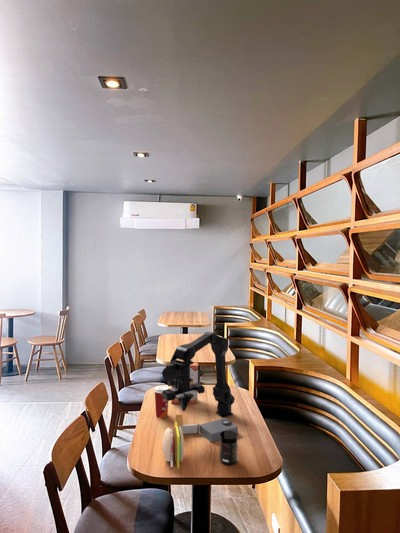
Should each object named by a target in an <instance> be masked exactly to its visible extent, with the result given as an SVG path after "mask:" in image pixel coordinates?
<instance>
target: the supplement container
mask: <svg viewBox="0 0 400 533" xmlns="http://www.w3.org/2000/svg"><path fill="white" fill-rule="evenodd" d="M238 435H239V434H237V433H236V432H234V431H228V430H227V431H223V432H221V433H220V440H219V461H220V462H221V464H223V465H226V466H233V465H235V464H236V463H237V461H238Z"/></svg>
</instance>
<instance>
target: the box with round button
mask: <svg viewBox="0 0 400 533" xmlns="http://www.w3.org/2000/svg"><path fill="white" fill-rule="evenodd" d="M238 429H239V426H238V425H236V424H235V423H234V422H233V421H231V420H230V419H227V418H226V417H221V418H219V419H216V420H212V421H209V422H204V423H200V424H199V433H198V434H201V436H203V437H204V438H205V439H207V440H208V441H209V442H210V443H214V442H217V441H220V433H221V432H223V431H227V430H228V431H234V432H236V433H237V435H239V432H238V431H239V430H238Z"/></svg>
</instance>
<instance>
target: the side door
mask: <svg viewBox="0 0 400 533" xmlns="http://www.w3.org/2000/svg"><path fill="white" fill-rule="evenodd" d="M174 416H175V421H174V423H175V422H177V426H178V429H179V426H180V427H181V429H182V432H183V435H184V434H200V433H199V425H200V423H194V424H193V423H191V424H183V413H175V414H174Z"/></svg>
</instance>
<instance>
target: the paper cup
mask: <svg viewBox="0 0 400 533" xmlns="http://www.w3.org/2000/svg"><path fill="white" fill-rule="evenodd" d="M167 389H170V386H168V385H163V384H162V385H157V386H155V387H154V390H153V392H154V399H155V400H154V401H155V417H156V418H159V419H165V418H167V417H168V414H169V412H168V411H169V401H167V400H166V399H164V398H163V397H162V392H163V390H167Z"/></svg>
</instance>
